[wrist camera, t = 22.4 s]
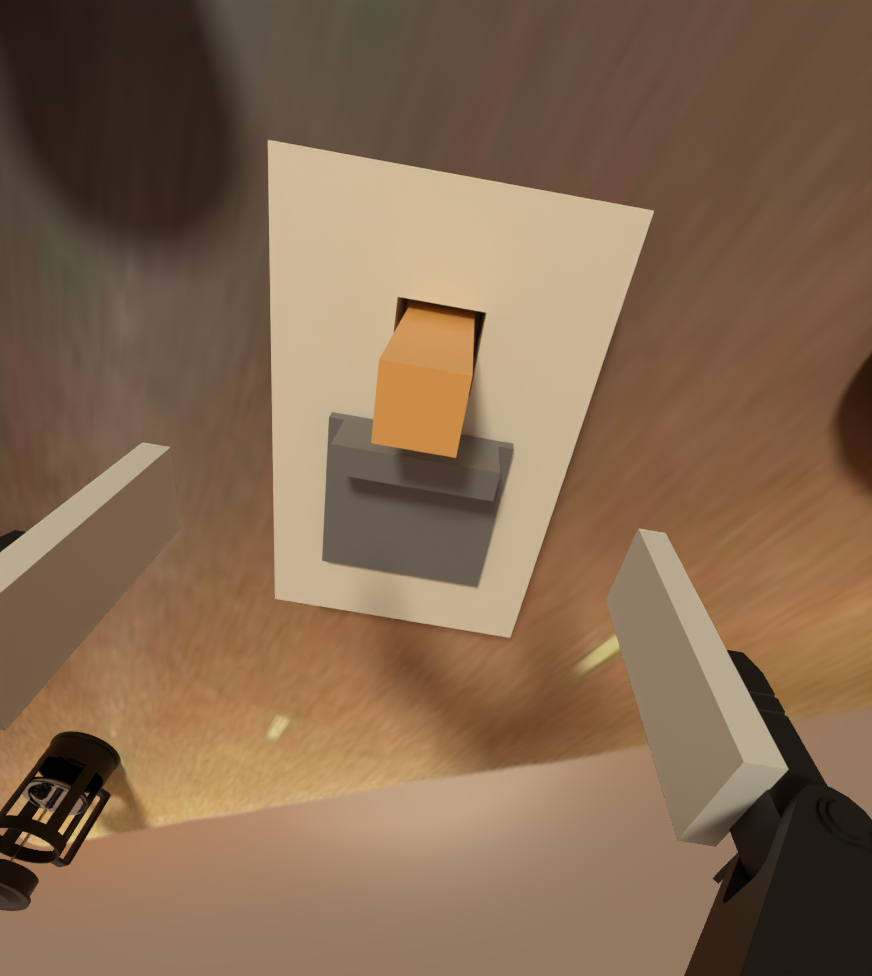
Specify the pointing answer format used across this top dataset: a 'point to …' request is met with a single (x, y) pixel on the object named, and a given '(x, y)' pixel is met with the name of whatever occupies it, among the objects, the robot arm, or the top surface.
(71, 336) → the top surface
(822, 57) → the top surface
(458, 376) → the plug peg
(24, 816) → the french press
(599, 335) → the socket block
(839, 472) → the top surface
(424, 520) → the shutter
